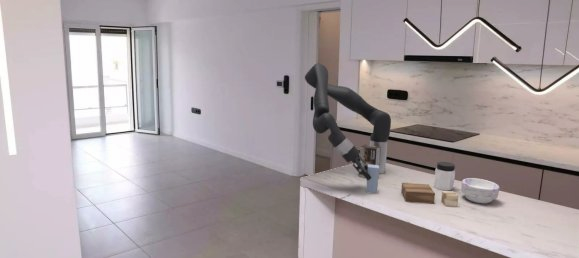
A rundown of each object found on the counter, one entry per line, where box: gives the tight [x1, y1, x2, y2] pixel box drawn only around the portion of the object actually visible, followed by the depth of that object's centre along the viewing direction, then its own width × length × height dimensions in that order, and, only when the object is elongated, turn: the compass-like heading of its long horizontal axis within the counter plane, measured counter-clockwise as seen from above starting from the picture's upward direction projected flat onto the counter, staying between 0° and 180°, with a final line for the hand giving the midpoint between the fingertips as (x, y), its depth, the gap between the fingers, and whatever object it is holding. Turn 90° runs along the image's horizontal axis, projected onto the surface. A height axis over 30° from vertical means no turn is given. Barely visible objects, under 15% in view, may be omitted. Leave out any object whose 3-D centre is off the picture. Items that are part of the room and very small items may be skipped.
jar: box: [433, 161, 456, 191], centre depth 194 cm, size 9×8×12 cm
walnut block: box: [400, 182, 436, 205], centre depth 179 cm, size 12×12×5 cm
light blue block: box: [365, 164, 380, 194], centre depth 186 cm, size 5×5×12 cm
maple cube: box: [440, 190, 459, 207], centre depth 173 cm, size 5×5×5 cm
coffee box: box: [358, 144, 381, 178], centre depth 208 cm, size 9×6×16 cm
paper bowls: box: [460, 177, 500, 204], centre depth 179 cm, size 15×15×8 cm
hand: (370, 176), depth 186 cm, fingers open, 8 cm apart
